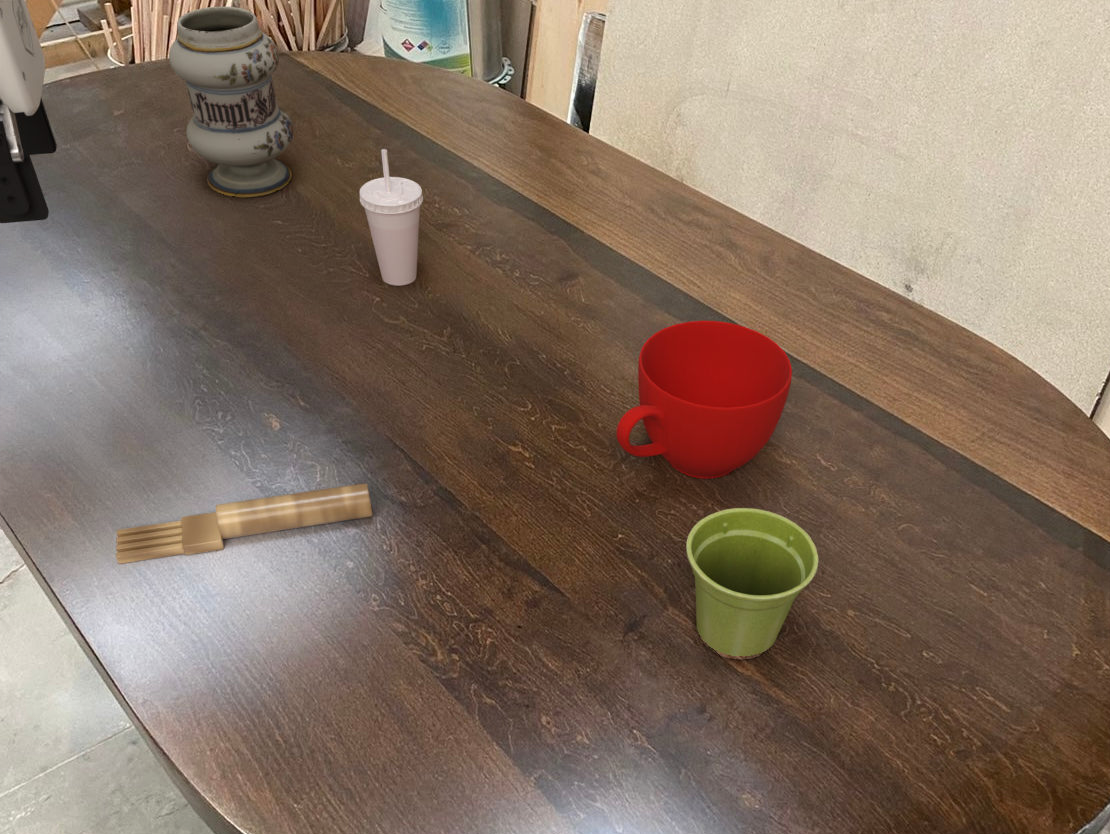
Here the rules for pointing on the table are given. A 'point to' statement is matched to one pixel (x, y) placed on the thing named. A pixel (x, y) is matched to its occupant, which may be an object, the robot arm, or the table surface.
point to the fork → (242, 522)
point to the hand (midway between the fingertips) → (28, 184)
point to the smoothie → (393, 224)
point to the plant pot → (747, 576)
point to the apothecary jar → (233, 99)
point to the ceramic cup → (707, 396)
